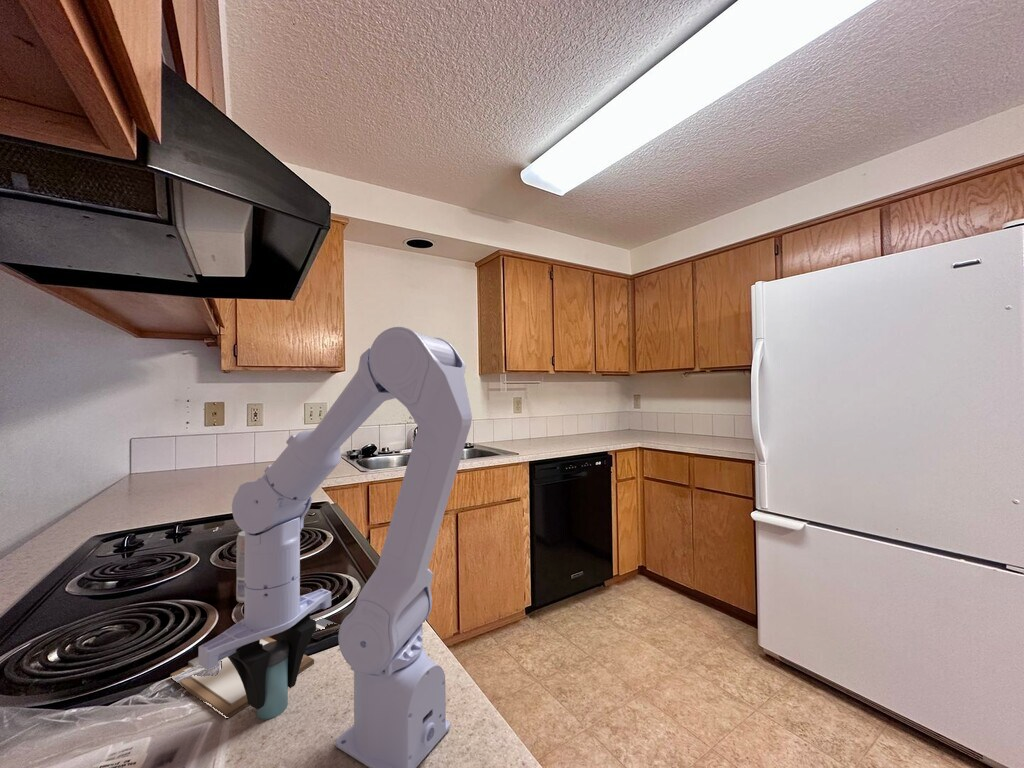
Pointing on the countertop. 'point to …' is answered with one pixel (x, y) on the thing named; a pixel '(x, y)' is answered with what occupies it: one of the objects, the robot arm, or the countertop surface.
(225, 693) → the clipboard
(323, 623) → the plate
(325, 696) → the countertop surface
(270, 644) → the tumbler
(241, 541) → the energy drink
